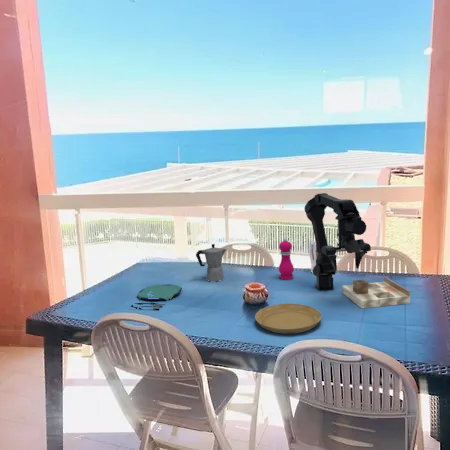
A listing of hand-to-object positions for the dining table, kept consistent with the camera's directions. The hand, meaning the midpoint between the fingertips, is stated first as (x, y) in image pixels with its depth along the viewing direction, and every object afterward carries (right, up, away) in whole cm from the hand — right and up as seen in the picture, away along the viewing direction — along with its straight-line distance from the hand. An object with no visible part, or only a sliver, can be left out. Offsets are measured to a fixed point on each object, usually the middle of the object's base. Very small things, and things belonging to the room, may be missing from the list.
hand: (346, 269), depth 185 cm
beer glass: (-3, -6, +45) cm, 45 cm away
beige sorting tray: (+13, -12, +4) cm, 18 cm away
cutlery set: (-80, -15, +20) cm, 84 cm away
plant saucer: (-26, -18, -17) cm, 36 cm away
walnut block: (+6, -10, +3) cm, 12 cm away
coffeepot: (-55, -9, +42) cm, 70 cm away
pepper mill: (-19, -8, +38) cm, 43 cm away
